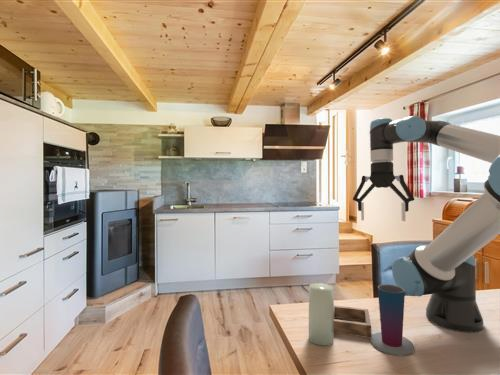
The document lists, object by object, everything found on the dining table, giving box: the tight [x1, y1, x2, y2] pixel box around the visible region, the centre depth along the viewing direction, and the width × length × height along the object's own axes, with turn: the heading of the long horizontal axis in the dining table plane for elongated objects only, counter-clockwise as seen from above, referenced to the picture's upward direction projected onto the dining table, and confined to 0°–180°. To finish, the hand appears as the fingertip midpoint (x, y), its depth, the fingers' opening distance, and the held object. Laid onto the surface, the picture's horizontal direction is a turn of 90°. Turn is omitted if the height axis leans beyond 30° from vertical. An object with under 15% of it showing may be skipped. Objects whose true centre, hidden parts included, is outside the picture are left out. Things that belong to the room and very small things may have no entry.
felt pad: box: [369, 331, 415, 357], centre depth 79 cm, size 11×11×1 cm
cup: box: [377, 283, 406, 347], centre depth 79 cm, size 7×7×15 cm
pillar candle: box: [308, 282, 335, 346], centre depth 83 cm, size 7×7×15 cm
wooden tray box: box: [334, 305, 372, 339], centre depth 90 cm, size 12×12×4 cm
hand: (382, 220), depth 104 cm, fingers open, 13 cm apart
